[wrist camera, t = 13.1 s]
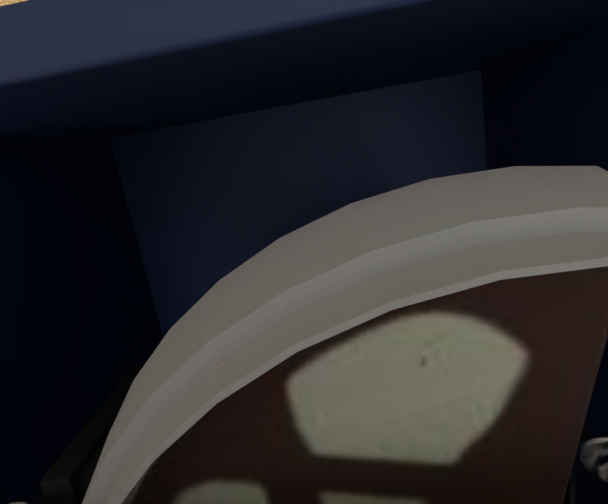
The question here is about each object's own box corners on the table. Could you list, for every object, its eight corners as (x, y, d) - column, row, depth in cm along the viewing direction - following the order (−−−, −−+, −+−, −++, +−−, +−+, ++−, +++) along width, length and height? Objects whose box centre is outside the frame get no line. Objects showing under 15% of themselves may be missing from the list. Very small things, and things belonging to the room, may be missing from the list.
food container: (223, 130, 13) (-71, 114, 3) (437, 148, 13) (760, 183, 3) (211, 485, 16) (37, 1003, 7) (383, 505, 16) (466, 1066, 6)
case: (93, 119, 17) (-417, 93, 5) (494, 44, 16) (984, -211, 4) (192, 479, 21) (23, 916, 9) (519, 443, 20) (800, 899, 8)
